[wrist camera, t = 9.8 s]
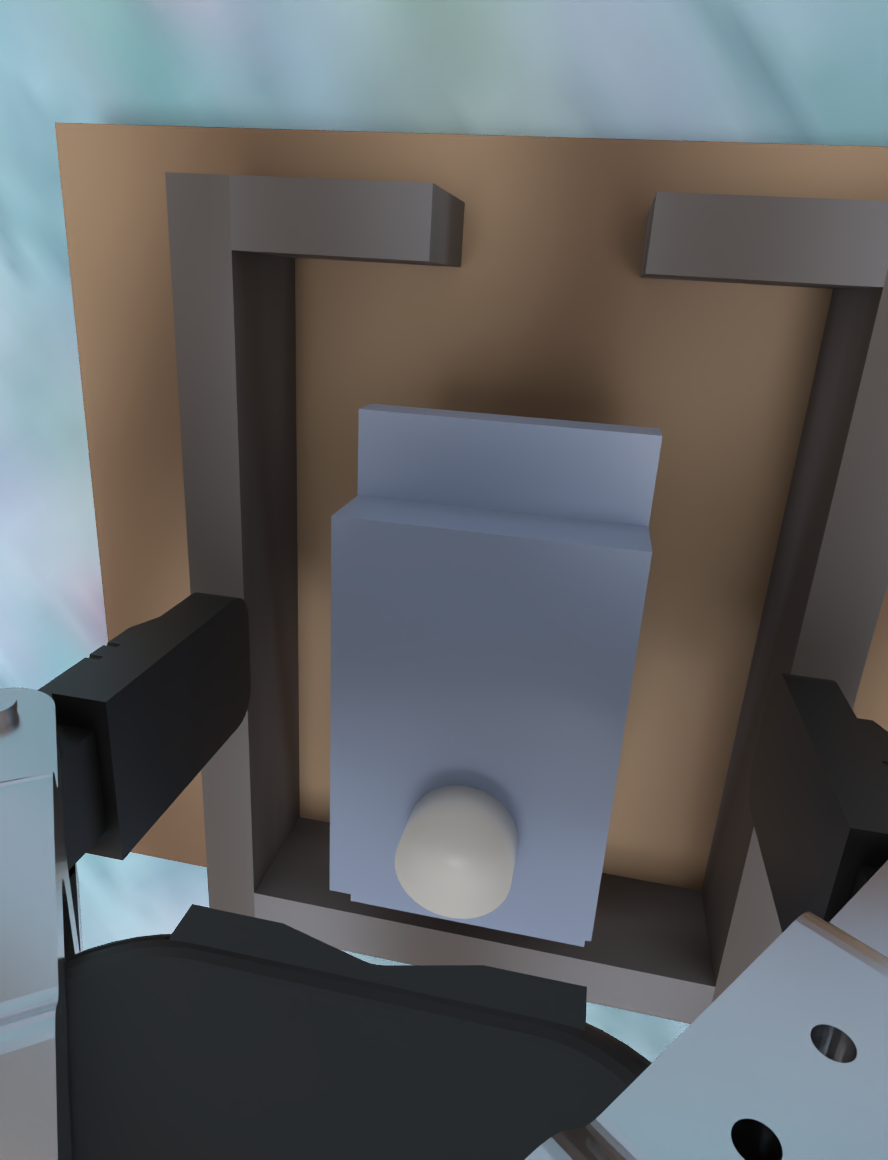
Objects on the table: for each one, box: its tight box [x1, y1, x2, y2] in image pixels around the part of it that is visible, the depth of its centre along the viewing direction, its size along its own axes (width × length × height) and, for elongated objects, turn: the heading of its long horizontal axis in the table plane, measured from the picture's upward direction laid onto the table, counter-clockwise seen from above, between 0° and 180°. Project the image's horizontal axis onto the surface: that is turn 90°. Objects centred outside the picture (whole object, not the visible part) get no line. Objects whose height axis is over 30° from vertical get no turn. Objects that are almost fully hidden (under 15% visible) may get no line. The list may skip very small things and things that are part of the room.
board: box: [55, 123, 888, 1024], centre depth 15 cm, size 18×16×4 cm
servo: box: [330, 404, 662, 947], centre depth 13 cm, size 4×8×6 cm, turn 177°
